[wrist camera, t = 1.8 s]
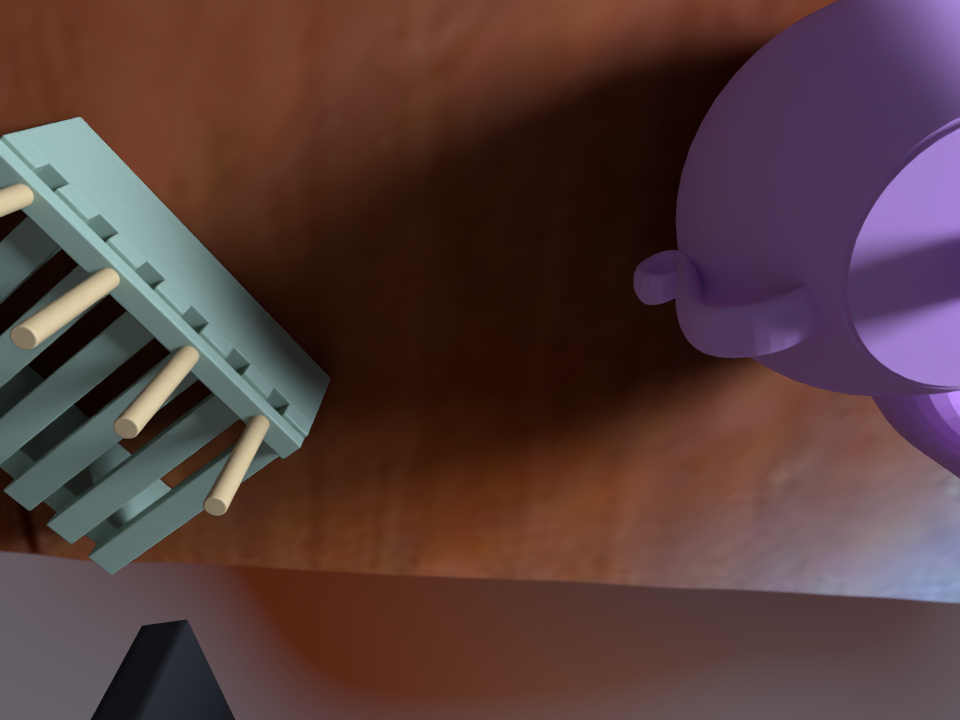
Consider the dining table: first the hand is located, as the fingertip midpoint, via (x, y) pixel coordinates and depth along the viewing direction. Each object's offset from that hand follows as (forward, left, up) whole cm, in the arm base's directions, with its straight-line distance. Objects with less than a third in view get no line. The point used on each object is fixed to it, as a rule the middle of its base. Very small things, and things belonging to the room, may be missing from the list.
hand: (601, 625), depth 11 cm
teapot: (+10, +13, -27) cm, 31 cm away
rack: (-8, -20, -26) cm, 34 cm away
